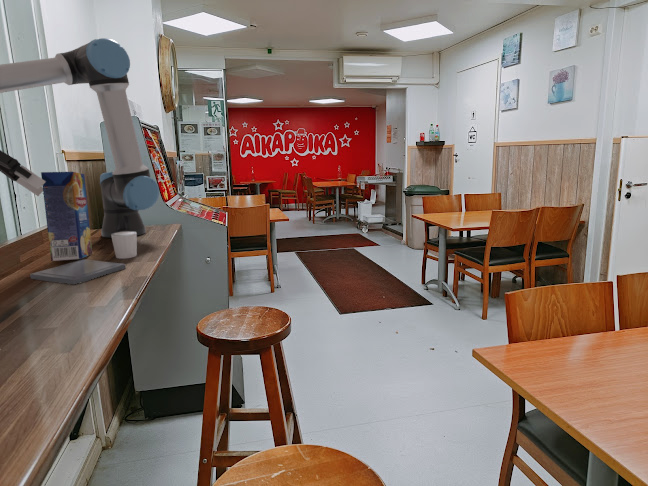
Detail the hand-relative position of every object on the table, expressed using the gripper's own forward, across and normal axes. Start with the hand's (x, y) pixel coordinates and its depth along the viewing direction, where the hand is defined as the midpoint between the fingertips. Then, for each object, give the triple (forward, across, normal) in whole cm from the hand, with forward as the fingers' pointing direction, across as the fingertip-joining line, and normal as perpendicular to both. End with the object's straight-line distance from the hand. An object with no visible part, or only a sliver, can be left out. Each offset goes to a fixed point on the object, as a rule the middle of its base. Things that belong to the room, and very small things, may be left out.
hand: (41, 189), depth 118 cm
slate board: (+20, +17, -14) cm, 30 cm away
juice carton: (+18, -1, -11) cm, 21 cm away
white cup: (+28, +5, -3) cm, 29 cm away
